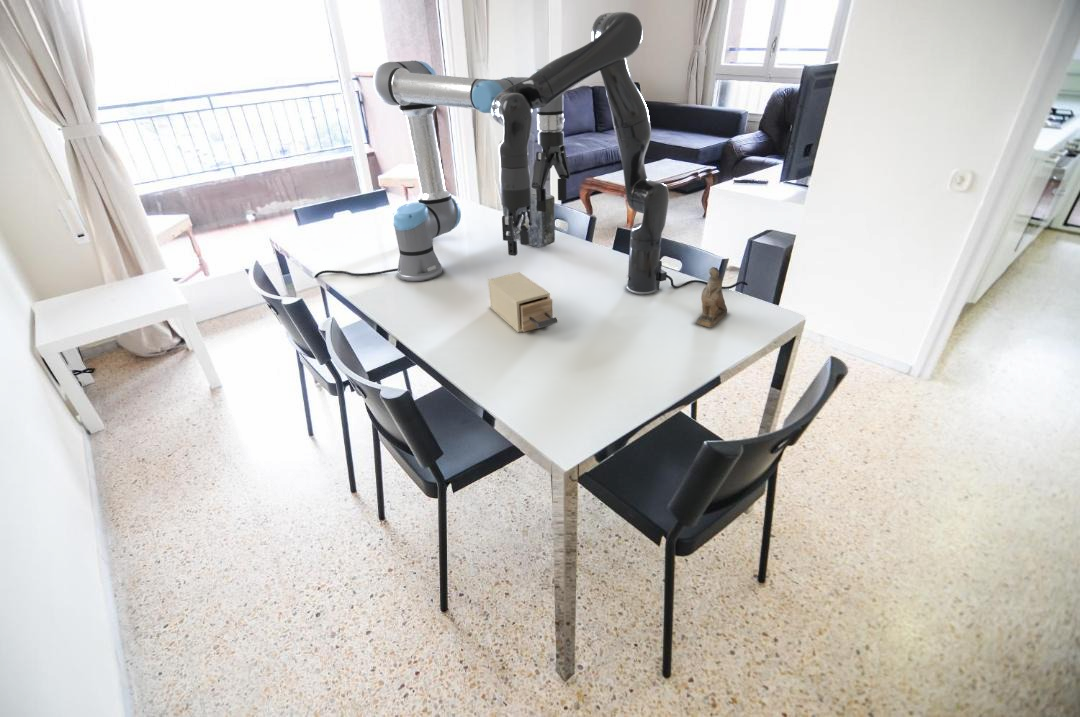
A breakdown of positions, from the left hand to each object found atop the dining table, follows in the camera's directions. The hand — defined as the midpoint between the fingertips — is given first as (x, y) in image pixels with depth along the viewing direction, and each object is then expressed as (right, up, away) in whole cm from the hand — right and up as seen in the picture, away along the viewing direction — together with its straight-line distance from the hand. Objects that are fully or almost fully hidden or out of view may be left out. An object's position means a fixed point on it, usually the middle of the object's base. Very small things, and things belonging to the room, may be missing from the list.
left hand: (552, 205), depth 153 cm
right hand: (-9, -19, -24) cm, 32 cm away
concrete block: (-7, -1, +47) cm, 48 cm away
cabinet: (-10, -35, -8) cm, 37 cm away
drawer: (-7, -36, -12) cm, 39 cm away
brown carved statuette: (+44, -36, -14) cm, 59 cm away
